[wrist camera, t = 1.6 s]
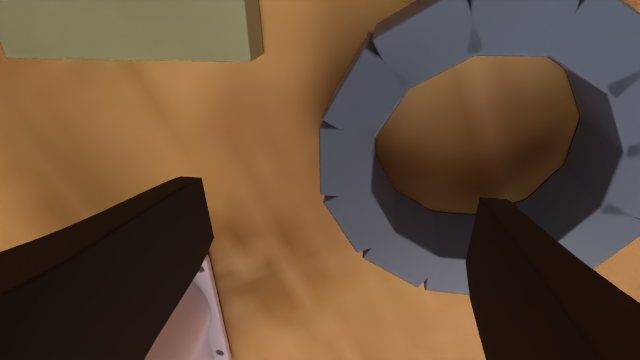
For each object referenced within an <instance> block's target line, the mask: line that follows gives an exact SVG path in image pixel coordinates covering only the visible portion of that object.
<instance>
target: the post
mask: <svg viewBox="0 0 640 360" xmlns="http://www.w3.org/2000/svg"><path fill="white" fill-rule="evenodd" d="M0 43H1V46H2V48H3V51H4V53H5V55H6V57H7V58H30V59H92V60H154V61H215V62H251V61H253V60H254V59H256V58H257V57H259V56H260V55H262V54H263V42H262V31H261V21H260V10H259V0H0Z"/></svg>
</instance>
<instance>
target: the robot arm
mask: <svg viewBox="0 0 640 360" xmlns="http://www.w3.org/2000/svg"><path fill="white" fill-rule="evenodd" d="M213 239H214V236H213V231H212V226H211V221H210V216H209V212H208V207H207V202H206V197H205V192H204V188H203V183H202V178H196V177H182V176H181V177H178V178H175V179H172V180H170V181H167V182H165V183H162V184H160V185H158V186H156V187H153V188H151V189H149V190H147V191H145V192H143V193H141V194H138V195H136V196H134V197H132V198H130V199H128V200H126V201H124V202H121V203H119V204H117V205H115V206H113V207H111V208H109V209H107V210H104V211H102V212H100V213H98V214H95V215H93V216H91V217H88V218H86V219H84V220H82V221H79V222H77V223H75V224H72V225H70V226H68V227H66V228H63V229H61V230H58V231H56V232H54V233H51V234H48V235H46V236H43V237H41V238H38V239H35V240H33V241H30V242H27V243H24V244H22V245H19V246H16V247H13V248H11V249H8V250H5V251H2V252H0V360H232V358H231V353H230V349H229V344H228V340H227V335H226V331H225V326H224V322H223V317H222V313H221V308H220V304H219V299H218V295H217V290H216V286H215V281H214V277H213V272H212V267H211V263H210V258H209V256H208V255H207V253H208V250H209V248H210V246H211V243H212V241H213ZM465 263H466V271H467V280H468V288H469V295H470V300H471V304H472V308H473V312H474V316H475V320H476V324H477V328H478V331H479V335H480V339H481V342H482V346H483V350H484V354H485V357H486V360H640V303H639V302H637V301H636V300H635V299H633V298H632V297H630V296H629V295H627V294H626V293H624V292H623V291H622V290H620V289H619V288H617V287H616V286H615V285H613V284H612V283H611V282H609V281H608V280H607V279H605V278H604V277H603V276H601V275H600V274H598V273H597V272H596V271H594V270H593V269H592V268H590V267H589V266H588V265H587V264H585V263H584V262H583V261H581V260H580V259H579V258H578V257H576V256H575V255H574V254H573V253H571V252H570V251H569V250H568V249H566V248H565V247H564V246H563V245H561V244H560V243H559V242H558V241H557V240H555V239H554V238H553V237H552V236H551V235H549V234H548V233H547V232H546V231H545V230H543V229H542V228H541V227H540V226H539V225H538V224H536V223H535V222H534V221H533V220H532V219H531V218H529V217H528V216H527V215H526V214H525V213H524V212H522V211H521V210H520V209H519V208H518V207H516V206H515V205H514V204H513V203H511V202H510V201H509V200H507V199H496V198H482V197H480V199H479V204H478V208H477V213H476V217H475V221H474V226H473V230H472V235H471V239H470V244H469V248H468V253H467V257H466V262H465ZM201 266H202V267H201Z"/></svg>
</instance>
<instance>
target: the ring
mask: <svg viewBox="0 0 640 360" xmlns="http://www.w3.org/2000/svg"><path fill="white" fill-rule="evenodd" d="M473 56H547V57H548V58H550V59H551V60H553V61H554V62H556V63H557V64H559V65H560V66H562V67H563V68H565V69H566V72H567V75H568V78H569V82H570V85H571V88H572V91H573V94H574V97H575V101H576V104H577V107H578V110H579V113H580V116H581V118H580V121H579V124H578V127H577V130H576V133H575V136H574V139H573V142H572V145H571V147H570V150H569V153H568V156H567V159H566V162H565V164H564V165H563V166H562V167H561V168H560V169H559V170H558V171H557V172H556V173H555V174H553V175H552V176H551V177H550V178H549V179H548V180H547V181H546V182H545V183H544V184H543V185H541V186H540V187H539V188H538V189H537V190H536V191H535V192H534V193H533V194H532V195H531V196H529V197H528V198H527V199H526V200H523V201H520V202H517V203H514V205H515V206H516V207H518V208H519V209H520V210H521V211H522V212H524V213H525V214H526V215H527V216H528V217H529V218H531V219H532V220H533V221H534V222H535V223H536V224H538V225H539V226H540V227H541V228H542V229H543V230H545V231H546V232H547V233H548V234H549V235H551V236H552V237H553V238H554V239H555V240H557V241H558V242H559V243H560V244H561V245H563V246H564V247H565V248H566V249H568V250H569V251H570V252H571V253H573V254H574V255H575V256H576V257H578V258H579V259H580V260H581V261H583V262H584V263H585V264H587V265H588V266H589V267H590V268H592V269H594V268H595V267H597V266H598V265H600V264H601V263H602V262H604V261H605V260H607V259H608V258H610V257H611V256H612V255H614V254H615V253H617V252H618V251H619V250H621V249H622V248H624V247H625V246H627V245H628V244H629V243H631V242H632V241H634V240H635V239H636V238H638V237H639V236H640V13H639V12H637V11H636V10H634V9H633V8H632V7H630V6H629V5H627V4H626V3H624V2H623V1H622V0H417V1H415V2H413V3H412V4H410V5H408V6H407V7H405V8H403V9H402V10H400V11H398V12H397V13H395V14H393V15H392V16H390V17H388V18H387V19H385V20H383V21H382V22H380V23H378V24H377V25H376V29H375V32H374V34H373V33H371V32H370V33H368V35H367V37H366V38H365V40H364V42H363V43H362V45H361V47H360V48H359V50H358V52H357V54H356V55H355V57H354V59H353V60H352V62H351V64H350V66H349V67H348V69H347V71H346V72H345V74H344V76H343V77H342V79H341V81H340V83H339V84H338V86H337V88H336V89H335V91H334V93H333V95H332V97H331V99H330V102H329V104H328V106H327V108H326V110H325V112H324V114H323V116H322V119H323V121H322V123H321V125H320V127H319V153H320V192H321V195H325V198H324V201H323V202H324V204H325V205H326V207H327V208H328V210H329V211H330V213H331V214H332V216H333V217H334V219H335V220H336V222H337V223H338V225H339V226H340V228H341V229H342V231H343V233H344V234H345V236H346V237H347V239H348V240H349V242H350V243H351V245H352V246H353V248H354V249H355V251H356V252H360V251H363V258H364V259H366V260H368V261H370V262H372V263H373V264H375V265H377V266H379V267H381V268H383V269H384V270H386V271H388V272H390V273H392V274H393V275H395V276H397V277H399V278H401V279H403V280H404V281H406V282H408V283H410V284H412V285H413V286H415V287H419V286H420V285H421V284H422V283H423V282H424V287H425V290H429V291H438V292H447V293H456V294H465V295H469V288H468V280H467V271H466V263H465V262H466V257H467V253H468V248H469V244H470V239H471V235H472V230H473V226H474V221H475V217H476V215H467V214H454V213H441V212H432V211H430V210H428V209H427V208H425V207H423V206H421V205H420V204H418V203H416V202H414V201H413V200H411V199H409V198H408V197H406V196H404V195H402V194H401V193H399V192H397V191H396V190H395V189H394V187H393V185H392V183H391V182H390V180H389V178H388V176H387V175H386V173H385V171H384V169H383V168H382V166H381V164H380V162H379V161H378V159H377V157H376V155H375V146H376V135H377V134H378V132H379V131H380V130H381V128H382V127H383V125H384V124H385V122H386V121H387V120H388V118H389V117H390V115H391V114H392V112H393V111H394V110H395V108H396V107H397V105H398V104H399V103H400V101H401V100H402V98H403V97H404V95H405V94H406V93H407V91H408V90H409V89H410V88H412V87H414V86H416V85H418V84H420V83H422V82H424V81H426V80H428V79H430V78H432V77H434V76H436V75H437V74H439V73H441V72H443V71H445V70H447V69H449V68H451V67H453V66H455V65H457V64H459V63H461V62H463V61H465V60H467V59H469V58H471V57H473Z"/></svg>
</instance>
